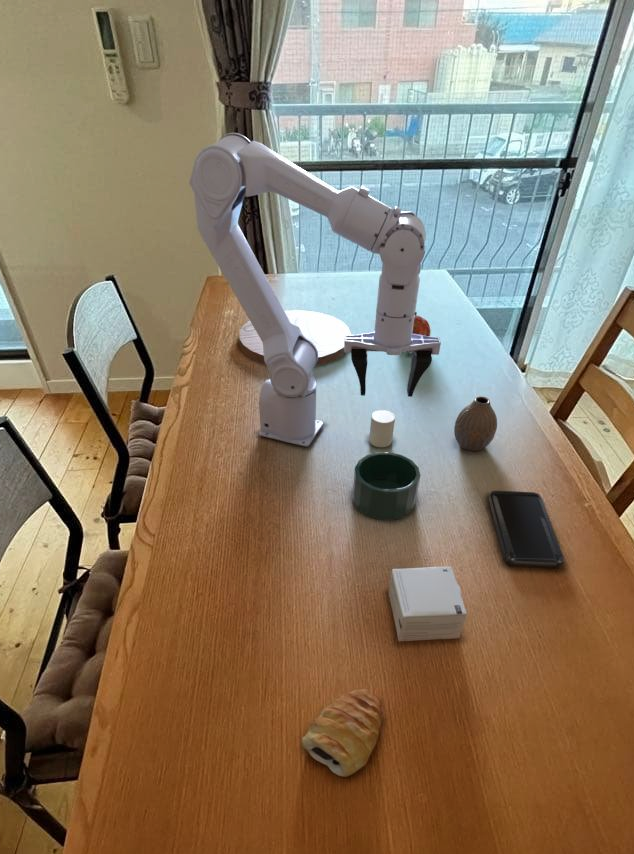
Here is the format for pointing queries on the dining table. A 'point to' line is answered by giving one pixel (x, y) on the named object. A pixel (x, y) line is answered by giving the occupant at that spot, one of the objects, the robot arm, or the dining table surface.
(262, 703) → the dining table surface
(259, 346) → the trivet
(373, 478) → the dark green bowl
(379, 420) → the candle
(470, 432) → the vase
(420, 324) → the pomegranate
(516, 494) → the phone
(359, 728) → the pastry
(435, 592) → the small box
